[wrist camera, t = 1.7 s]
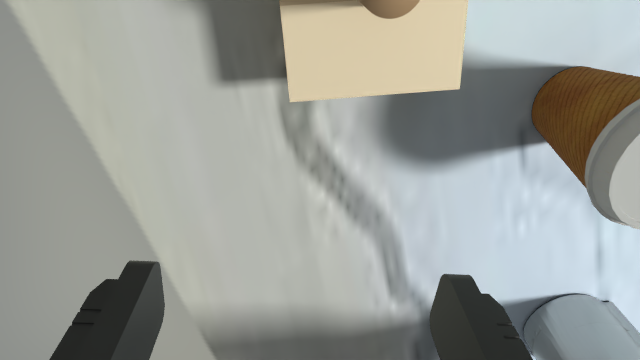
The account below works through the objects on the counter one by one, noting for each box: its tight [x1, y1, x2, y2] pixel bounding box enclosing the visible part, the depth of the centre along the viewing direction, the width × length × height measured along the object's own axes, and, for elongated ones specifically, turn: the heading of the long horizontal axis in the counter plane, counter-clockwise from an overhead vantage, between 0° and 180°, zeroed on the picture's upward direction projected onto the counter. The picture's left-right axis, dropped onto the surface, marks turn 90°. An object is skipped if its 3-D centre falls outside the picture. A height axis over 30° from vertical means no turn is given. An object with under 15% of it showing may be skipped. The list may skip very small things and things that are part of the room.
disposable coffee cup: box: [532, 66, 640, 229], centre depth 30 cm, size 10×10×12 cm
